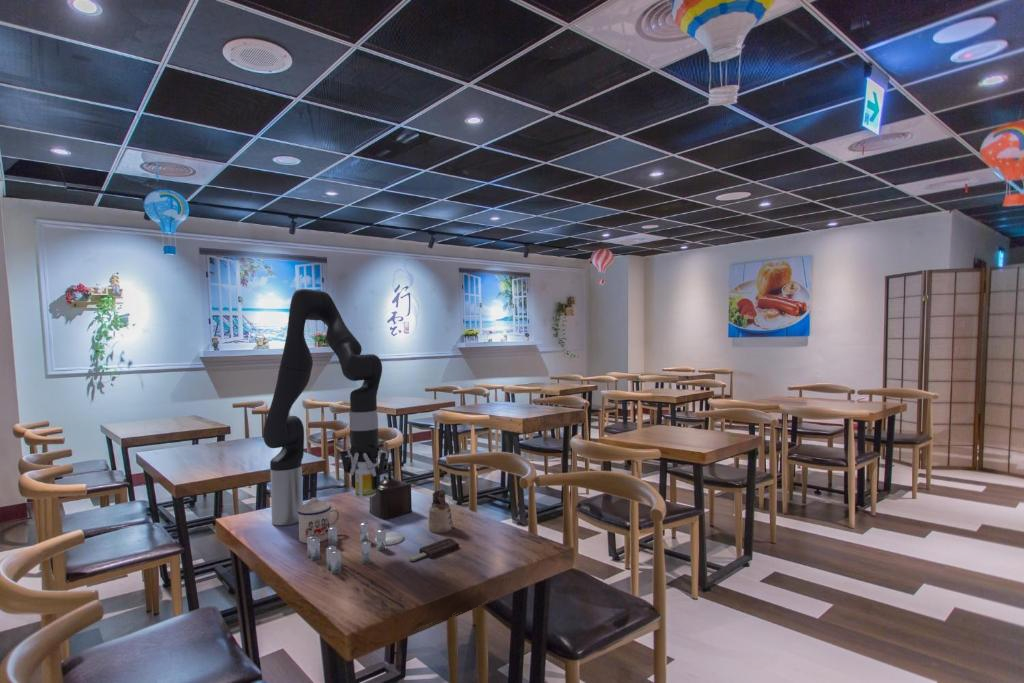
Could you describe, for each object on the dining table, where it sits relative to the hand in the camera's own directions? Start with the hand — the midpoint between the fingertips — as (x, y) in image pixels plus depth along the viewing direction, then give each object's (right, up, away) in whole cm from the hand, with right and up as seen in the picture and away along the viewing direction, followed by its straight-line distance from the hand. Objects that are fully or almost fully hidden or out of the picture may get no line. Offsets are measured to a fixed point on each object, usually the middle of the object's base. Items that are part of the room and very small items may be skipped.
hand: (365, 488), depth 145 cm
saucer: (+5, -16, +6) cm, 18 cm away
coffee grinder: (-2, -16, +28) cm, 32 cm away
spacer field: (-4, -17, -3) cm, 17 cm away
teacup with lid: (-16, -17, +9) cm, 25 cm away
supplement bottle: (0, -2, 0) cm, 2 cm away
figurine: (+19, -16, +13) cm, 28 cm away
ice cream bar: (+19, -17, -4) cm, 26 cm away
